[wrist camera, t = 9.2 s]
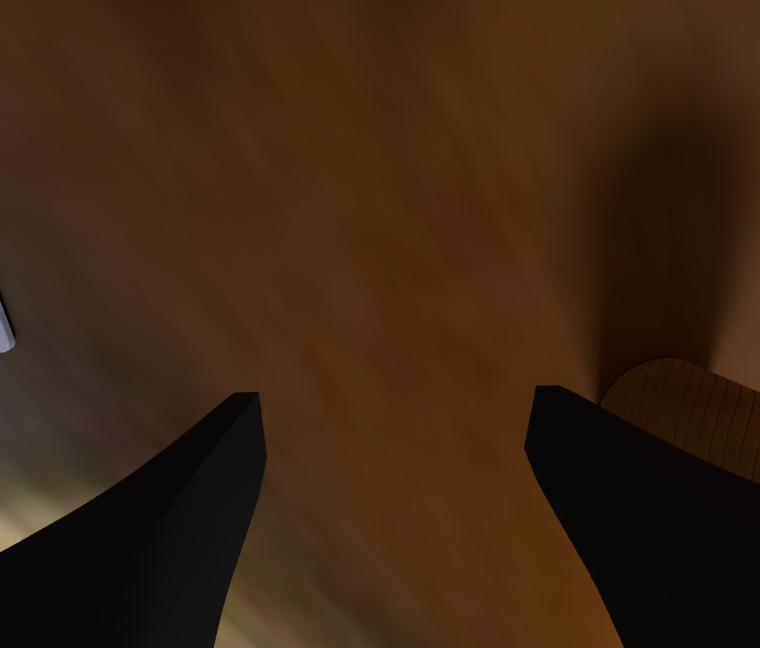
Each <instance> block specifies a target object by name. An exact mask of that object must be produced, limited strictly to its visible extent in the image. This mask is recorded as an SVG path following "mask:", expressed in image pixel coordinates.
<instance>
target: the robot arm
mask: <svg viewBox="0 0 760 648" xmlns="http://www.w3.org/2000/svg"><path fill="white" fill-rule="evenodd" d="M14 345H15V339H14V337H13V334H12V331H11V329H10V326H9V323H8V321H7V318H6V315H5V313H4V310H3V307H2V305H1V302H0V352H6V351H8V350H10V349H11V348H13V347H14ZM524 449H525V452H526V455H527V457H528V460H529V462H530V465H531V468H532V470H533V472H534V475H535V477H536V479H537V482H538V484H539V486H540V487H541V489H542V491H543V493H544V495H545V497H546V498H547V500H548V502H549V504H550V505H551V507H552V509H553V511H554V513H555V514H556V516H557V518H558V519H559V521H560V523H561V525H562V526H563V528H564V530H565V532H566V533H567V535H568V537H569V539H570V540H571V542H572V544H573V546H574V547H575V549H576V551H577V553H578V554H579V556H580V558H581V560H582V561H583V563H584V565H585V566H586V568H587V570H588V572H589V574H590V576H591V578H592V580H593V582H594V583H595V585H596V587H597V589H598V591H599V593H600V596H601V598H602V600H603V602H604V604H605V607H606V609H607V611H608V613H609V615H610V617H611V620H612V622H613V624H614V626H615V628H616V630H617V633H618V635H619V637H620V639H621V642H622V644H623V646H624V648H760V484H758V483H755V482H753V481H751V480H748V479H746V478H744V477H741V476H739V475H737V474H734V473H732V472H730V471H727V470H725V469H723V468H720V467H718V466H716V465H713V464H711V463H709V462H707V461H705V460H703V459H700V458H698V457H696V456H694V455H692V454H690V453H688V452H686V451H684V450H682V449H680V448H678V447H676V446H674V445H672V444H670V443H668V442H666V441H664V440H662V439H660V438H658V437H656V436H654V435H652V434H650V433H648V432H646V431H644V430H643V429H641V428H639V427H637V426H635V425H633V424H631V423H630V422H628V421H626V420H624V419H622V418H620V417H619V416H617V415H615V414H613V413H611V412H609V411H608V410H606V409H604V408H602V407H600V406H599V405H597V404H595V403H593V402H591V401H589V400H588V399H586V398H584V397H582V396H580V395H578V394H576V393H574V392H572V391H570V390H568V389H566V388H564V387H561V386H559V385H553V386H536V390H535V395H534V400H533V405H532V410H531V415H530V420H529V425H528V430H527V435H526V441H525V446H524ZM266 459H267V454H266V446H265V438H264V430H263V422H262V414H261V406H260V398H259V392H240V393H233V394H232V395H230V396H229V397H228V398H227V399H225V400H224V401H223V402H222V403H221V404H219V405H218V406H217V407H216V408H215V409H213V410H212V411H211V412H210V413H209V414H207V415H206V416H205V417H204V418H203V419H202V420H200V421H199V422H198V423H197V424H195V425H194V426H193V427H192V428H191V429H189V430H188V431H187V432H186V433H184V434H183V435H182V436H181V437H180V438H178V439H177V440H176V441H175V442H173V443H172V444H171V445H169V446H168V447H167V448H165V449H164V450H163V451H161V452H160V453H159V454H157V455H156V456H155V457H153V458H152V459H151V460H149V461H148V462H147V463H145V464H144V465H143V466H141V467H140V468H139V469H137V470H136V471H134V472H133V473H132V474H130V475H129V476H127V477H126V478H124V479H123V480H121V481H120V482H118V483H117V484H115V485H114V486H112V487H111V488H109V489H108V490H106V491H105V492H103V493H101V494H100V495H98V496H97V497H95V498H94V499H92V500H91V501H89V502H87V503H86V504H84V505H83V506H81V507H79V508H78V509H76V510H74V511H73V512H71V513H69V514H67V515H66V516H64V517H62V518H60V519H59V520H57V521H55V522H53V523H52V524H50V525H48V526H46V527H45V528H43V529H41V530H39V531H37V532H36V533H34V534H32V535H30V536H29V537H27V538H25V539H23V540H22V541H20V542H18V543H16V544H14V545H13V546H11V547H9V548H7V549H5V550H3V551H1V552H0V648H214V643H215V639H216V635H217V631H218V626H219V622H220V618H221V613H222V609H223V606H224V603H225V599H226V596H227V592H228V589H229V586H230V582H231V579H232V576H233V573H234V570H235V567H236V564H237V561H238V558H239V555H240V552H241V549H242V546H243V543H244V540H245V537H246V534H247V531H248V528H249V525H250V522H251V519H252V516H253V513H254V510H255V507H256V504H257V500H258V497H259V494H260V489H261V484H262V480H263V475H264V469H265V464H266Z"/></svg>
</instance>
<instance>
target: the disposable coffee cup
mask: <svg viewBox="0 0 760 648" xmlns="http://www.w3.org/2000/svg"><path fill="white" fill-rule="evenodd" d="M600 407H602V408H604V409H606V410H608V411H609V412H611V413H613V414H615V415H617V416H619V417H620V418H622V419H624V420H626V421H628V422H630V423H631V424H633V425H635V426H637V427H639V428H641V429H643V430H644V431H646V432H648V433H650V434H652V435H654V436H656V437H658V438H660V439H662V440H664V441H666V442H668V443H670V444H672V445H674V446H676V447H678V448H680V449H682V450H684V451H686V452H688V453H690V454H692V455H694V456H696V457H698V458H700V459H703V460H705V461H707V462H709V463H711V464H713V465H716V466H718V467H720V468H723V469H725V470H727V471H730V472H732V473H734V474H737V475H739V476H741V477H744V478H746V479H748V480H751V481H753V482H755V483H758V484H760V392H757V391H755V390H752V389H751V388H748V387H746V386H743V385H740V384H738V383H737V382H734V381H732V380H729V379H726V378H725V377H723V376H720V375H717V374H715V373H713V372H711V371H708V370H706V369H703V368H702V367H699V366H697V365H694V364H692V363H691V362H688V361H685V360H682V359H679V358H671V357H670V358H659V359H654V360H651V361H647V362H644V363H642V364H639V365H637V366H635V367H634V368H632V369H630V370H628V371H627V372H626V373H624V374H623V375H622V376H621V377H619V378H618V379H617V380H616V381H615V382H614V383H613V384H612V385H611V386H610V388H609V389H608V391H607V392H606V394H605V395H604V397H603V399H602V401H601V404H600Z"/></svg>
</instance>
